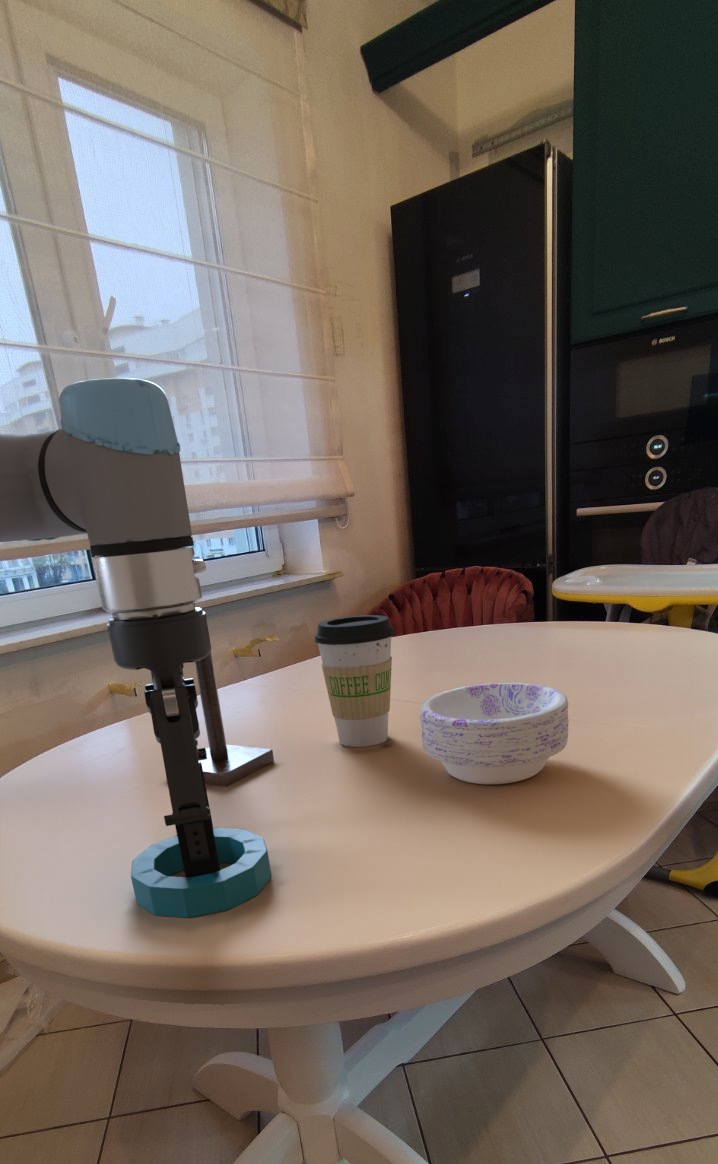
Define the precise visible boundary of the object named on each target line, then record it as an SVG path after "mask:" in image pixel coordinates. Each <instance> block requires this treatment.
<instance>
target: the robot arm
mask: <svg viewBox="0 0 718 1164" xmlns="http://www.w3.org/2000/svg"><path fill="white" fill-rule="evenodd" d="M58 403H59V413H60V428H59V429H55V430H50V431H44V432H40V433H30V434H29V433H27V434H22V433H21V434H18V433H0V543H10V542H11V543H12V542H22V541H28V542H37V541H42V540H46V541H51V540H56V539H58V538H63V537H72V536H79V535H87V539H88V543H89V546H90V547H89V550H90V554H91V563H92V569H93V573H94V576H95V581H96V585H97V590H98V594H99V599H100V604H101V608H102V610H103V611H105V612H106V613H109V614H111V616H112V617H111V618H109V619H108V623H106V629H107V633H108V637H109V641H110V646H111V651H112V656H113V660H114V663H115V664H116V666H118V667H119V668H121V669H125V670H133V671H139V670H142V669H145V670H148V671H150V675H151V682H152V683H147V684H144V688H145V690H144V692H143V693H144V700H145V705H146V707H147V708H146V709H147V711H148V713H149V714H150V716H151V723H152V728H153V734H154V737H155V739H156V740H155V741H156V742H157V743H158V744H160V747H161V755H162V759H163V760H162V761H163V765H164V771H165V772H164V773H165V777H166V782H167V788H168V793H169V799H170V805H171V810H172V812H171V814H167V815H163V819H164V824H165V827H170V826H175V827H174V828H175V831H176V835H177V837H178V842H179V847H180V852H181V857H182V861H183V866H184V869H183V871H184V877H187V878H190V877H195V876H201V875H206V874H211V873H215V872H217V871H220V870H221V866H220V862H219V860H218V855H217V849H216V844H215V838H214V833H213V828H214V823H213V818H212V813H211V808H210V803H209V802H210V801H209V796H208V791H207V784H205V779H204V774H203V768H202V763H201V762H200V763H199V760H205V759H207V754H206V749H205V748H206V747H200V748H198V745H199V742H198V738H199V737H200V736H201V729H200V724H199V719H198V713H197V708H198V706H199V700H198V694H197V688H196V684H195V680H194V678H193V677H191V678H185V675H184V668H185V667H184V664H187V663H195V661H198V660H201V659H203V658H205V657H207V656H208V655H209V654H210V652H211V653H212V643H211V637H210V632H209V626H208V619H207V614H206V612H205V611H204V610H203V608H201V607H197V606H196V603H198V602H200V601H201V599H202V598H203V595H202V588H201V583H200V578H198V576H196V575H195V574H200V573H201V574H203V573H205V572H206V570H207V566H206V563H205V561H204V560H203V559H193V558H194V556H195V555H196V553H195V549H194V546H195V545H194V537H193V532H192V526H191V518H190V513H189V507H188V500H187V493H186V487H185V480H184V475H183V469H182V462H181V453H180V452H181V445H180V444H181V443H179V441H178V437H177V432H176V429H175V423H174V420H173V415H172V411H171V406H170V402H169V399H168V396H167V394H166V393H165V391H164V390H163V389H162V387H161V386H159V385H158V384H157V383H155V382H152V381H149V380H145V379H140V378H130V377H109V378H96V379H95V378H94V379H85V380H82V381H77V382H73V383H71V384H68V385H65V387H64V388H63V389H62V391H61V392H60V394H59V397H58Z"/></svg>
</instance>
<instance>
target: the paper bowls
mask: <svg viewBox="0 0 718 1164" xmlns="http://www.w3.org/2000/svg"><path fill="white" fill-rule="evenodd" d="M419 712H420V723H421V742H422V750H423V752H424V753H425V754H426V755H427V756H428V757H430V758H432V759H433V760H435V761H439V762H441V763H442V766H443V767H444V769H445V770H446V771H447V773H448V774H449V775H450V776H452V777H454V778H455V779H457V780H460V781H462V782H466V783H471V784H477V785H504V784H512V783H518V782H521V781H524V780H527V779H529V778H531V777H533V776H536V775H537V774H538V773H539V772H541V771H542V770H543V768H545V765H546V764H547V761H548V760H549V758H551V757H553V756H555V755H557V754H559V753H560V752H562V751H563V750H564V749H565V748H566V747H567V745H568V739H569V700H568V697H567V695H566V694H565V693H564V692H562V691H560V690H558V689H556V688H553V687H550V686H546V685H540V684H532V683H522V682H521V683H520V682H497V683H495V682H494V683H481V684H480V683H479V684H474V685H473V684H472V685H467V686H461V687H456V688H452V689H449V690H444V691H442V692H438V693H436V694H434V695H432V696H430V697H428V698H427V699H426V700H424V701H423V703H422V705H421V706H420V709H419Z"/></svg>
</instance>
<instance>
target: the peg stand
mask: <svg viewBox="0 0 718 1164" xmlns="http://www.w3.org/2000/svg"><path fill="white" fill-rule="evenodd" d="M194 667H195V673H196V678H197V679H196V680H197V684H198V690H199V696H200V702H201V708H202V714H203V719H204V725H205V730H206V737H207V741H208V742H207V743H208V746H207V747H204V748H205V749H206V754H207V759H205V760H199V763H200V762H201V763H202V768H203V774H204V779H205V785H207V784H208V785H211V786H212V785H214V786H219V787H220V786H221V787H228V786H229V785H232V784H233V783H236V782H237V781H239V780H240V779H243V778H244V777H246V776H248V775H250V774H252V773H254V772H256V771H258V770H260V769H262V768H264V767H265V766H268V765H269V764H271V763H273V762H274V761H275V758H274V752H273V751H274V750H273V749H272V748H262V747H254V746H245V745H234V744H227V740H226V735H225V728H224V722H223V717H222V710H221V704H220V703H221V702H220V698H219V693H218V685H217V679H216V674H215V668H214V661H213V655H212V651H211V652H210V654H209V655H208V656H207V657H205V658H203V659H201V660H198V661H195V662H194Z"/></svg>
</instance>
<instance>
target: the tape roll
mask: <svg viewBox="0 0 718 1164" xmlns="http://www.w3.org/2000/svg"><path fill="white" fill-rule="evenodd" d="M213 833H214V838H215V844H216V849H217V855H218V860H219V863H225V864H226V863H229V864H231V865H229V866H227V867H224V868H222V869H220V871H217V872H215V873H211V874H206V875H201V876H195V877H190V878H187V877H186V876H172V875H174V874H176V873H180V872H181V871H184V866H183V861H182V857H181V852H180V847H179V842H178V837H177V834H176V835H173V836H171V837H168V838H165V839H164V840H160V841H158V842H156V843H154V844H151V845H150V846H148V847H147V848H146V849H145V850H144V851H142V852H141V853H140V854H139V855H138V856H136V857H135V858H134V859H133V860H132V861H131V870H130V880H131V883H132V889H133V891H134V892H133V893H134V896H135V901H136V904H137V905H138V906H140V907H142V908H143V909H145V911H148V912H149V913H151V914H153V915H154V916H159V917H172V918H183V919H184V918H185V919H187V918H188V919H189V918H195V917H200V916H205V915H210V914H214V913H215V914H216V913H220V912H225V911H227V910H231V909H232V908H235V907H236V906H239V905H241V904H242V903H244V902H247V901H248V900H250V899H252V898H254V897H257V896H258V895H259V894H260V893H261V891H262V890H263V889H264V887H265V886H266V885H267V884H268V882H269V881H270V880H271V879H272V871H271V870H272V869H271V865H270V864H271V863H270V858H269V851H268V849H267V846H266V842H265V838H264V837H263V836H261V835H259V834H258V833H257V834H256V833H254V832H251V831H249V830H246V829H244V828H228V827H213Z"/></svg>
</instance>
